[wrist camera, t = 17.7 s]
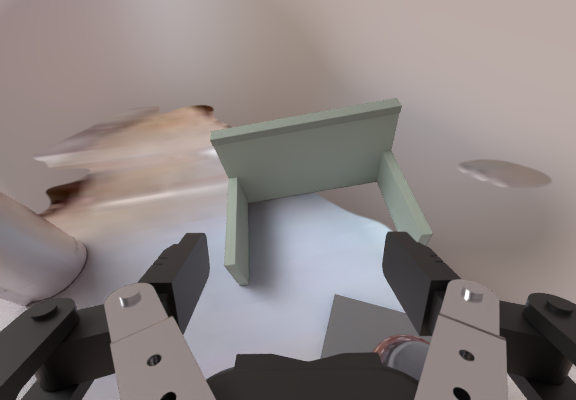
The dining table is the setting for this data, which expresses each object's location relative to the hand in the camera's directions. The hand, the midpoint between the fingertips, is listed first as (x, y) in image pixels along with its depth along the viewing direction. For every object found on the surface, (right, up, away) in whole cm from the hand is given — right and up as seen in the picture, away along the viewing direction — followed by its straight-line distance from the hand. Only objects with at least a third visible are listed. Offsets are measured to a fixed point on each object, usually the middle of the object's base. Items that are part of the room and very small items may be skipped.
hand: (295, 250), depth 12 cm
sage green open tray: (+4, -1, +26) cm, 26 cm away
